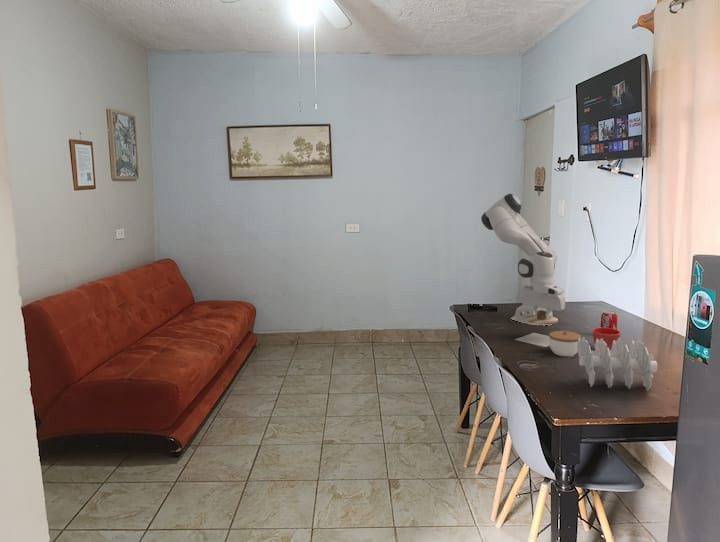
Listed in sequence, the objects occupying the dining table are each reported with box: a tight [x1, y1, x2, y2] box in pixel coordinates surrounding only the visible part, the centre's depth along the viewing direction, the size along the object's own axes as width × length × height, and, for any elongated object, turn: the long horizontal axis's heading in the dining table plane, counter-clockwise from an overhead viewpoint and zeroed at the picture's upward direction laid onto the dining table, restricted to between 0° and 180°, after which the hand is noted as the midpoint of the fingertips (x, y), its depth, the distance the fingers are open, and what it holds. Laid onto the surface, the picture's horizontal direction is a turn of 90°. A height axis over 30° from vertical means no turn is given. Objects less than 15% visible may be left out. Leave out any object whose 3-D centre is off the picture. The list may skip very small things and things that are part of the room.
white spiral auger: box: [577, 336, 658, 391], centre depth 183 cm, size 18×18×25 cm
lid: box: [526, 310, 559, 325], centre depth 236 cm, size 14×14×4 cm
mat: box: [514, 332, 550, 348], centre depth 238 cm, size 16×16×1 cm
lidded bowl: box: [548, 329, 582, 359], centre depth 217 cm, size 13×13×11 cm
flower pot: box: [592, 327, 622, 350], centre depth 220 cm, size 11×11×10 cm
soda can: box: [600, 310, 618, 330], centre depth 242 cm, size 7×7×12 cm
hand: (541, 316), depth 236 cm, fingers closed on lid, 3 cm apart
